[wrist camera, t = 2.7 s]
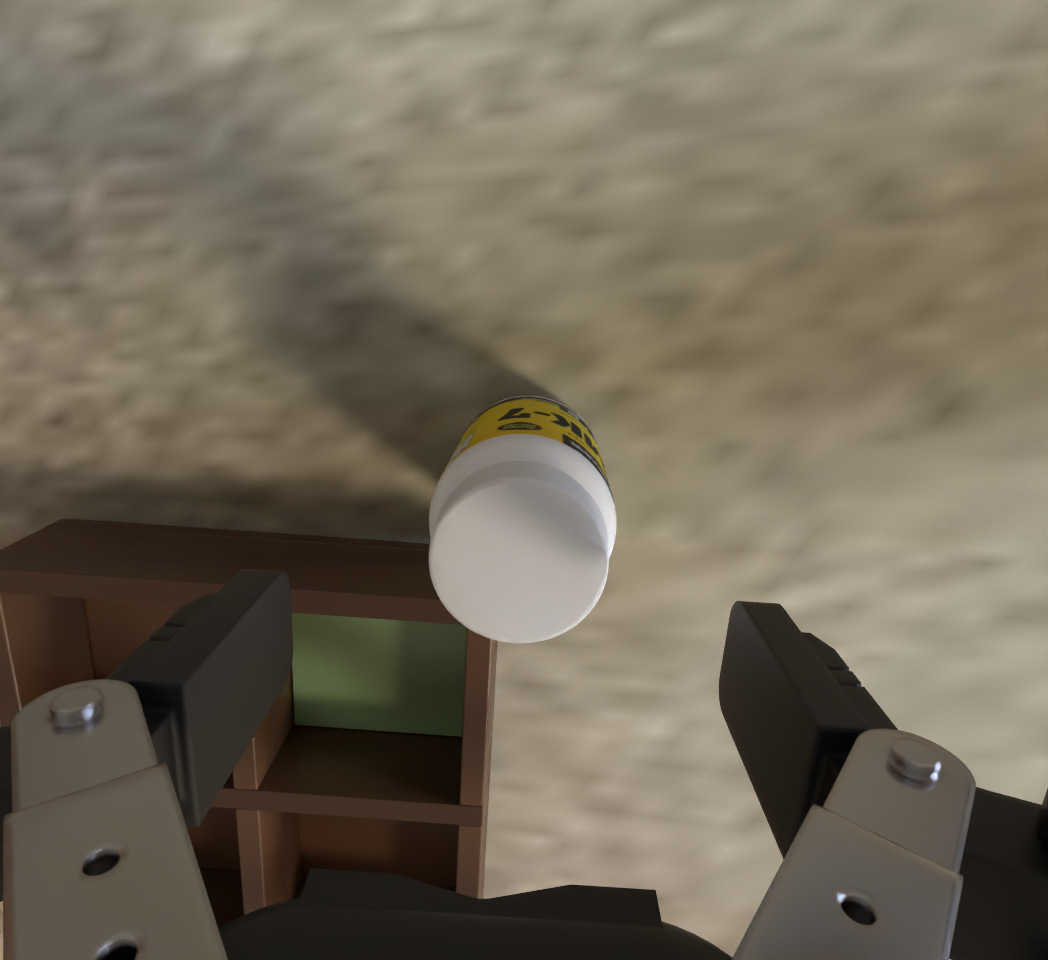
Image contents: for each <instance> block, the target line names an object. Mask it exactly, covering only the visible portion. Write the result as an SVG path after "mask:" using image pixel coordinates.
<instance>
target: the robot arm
mask: <svg viewBox="0 0 1048 960" xmlns="http://www.w3.org/2000/svg"><path fill="white" fill-rule="evenodd" d="M292 659H293V636H292V614H291V592H290V581H289V577H288V575H287V573H286V572H284V571H270V570H254V569H241V570H240V571H239V572H238V573H237V574H236V575H235V576H234V577H233V578H232V579H231V580H230V581H229V582H228V583H227V584H226V585H225V586H224V587H223V588H222V589H221V590H220V591H219V592H218V593H217V594H207V595H205V596H203V597H200V598H198V599H196V600H194V601H192V602H190V603H188V604H186V605H184V606H182V607H181V608H180V609H179V610H178V611H177V612H176V613H174V614H173V615H172V616H171V617H170V618H169V619H168V620H167V621H166V622H165V623H164V627H163V626H161V627H160V628H158V629H157V630H156V631H155V632H154V633H153V634H152V635H151V636H150V639H149V640H146V641H145V642H144V643H142V644H141V645H140V646H139V647H138V648H137V649H136V650H135V651H134V652H133V653H132V654H131V655H130V656H129V657H127V658H126V659H125V660H124V661H123V662H122V663H121V664H120V665H119V666H118V667H117V668H116V669H115V670H114V671H113V672H111V673H110V674H109V675H108V676H107V677H106V678H105V679H97V680H88V681H81V682H77V683H72V684H69V685H65V686H62V687H59V688H57V689H54V690H52V691H49V692H47V693H45V694H43V695H41V696H39V697H37V698H36V699H34V700H32V701H31V702H30V703H28V704H27V705H25V706H24V707H23V708H22V709H21V710H20V711H19V712H18V713H17V715H16V716H15V717H14V719H13V721H12V724H11V726H6V727H0V902H1V901H3V960H949V959H952V960H1048V789H1047V792H1046V795H1045V798H1044V800H1043V803H1042V805H1040V804H1036V803H1032V802H1029V801H1025V800H1021V799H1017V798H1014V797H1010V796H1006V795H1002V794H999V793H995V792H991V791H988V790H984V789H981V788H978V787H976V783H975V780H974V777H973V775H972V773H971V772H970V770H969V769H968V768H967V767H966V765H965V764H964V763H963V762H962V761H961V760H960V759H958V758H957V757H956V756H955V755H953V754H952V753H951V752H949V751H948V750H946V749H945V748H943V747H941V746H940V745H938V744H936V743H934V742H932V741H930V740H928V739H925V738H923V737H920V736H918V735H915V734H912V733H908V732H904V731H900V730H898V729H897V728H896V727H895V725H894V724H893V723H892V722H891V720H890V719H889V718H888V717H887V715H886V714H885V713H884V711H883V710H882V709H881V708H880V706H879V705H878V704H877V703H876V701H875V700H874V699H873V698H872V696H871V695H870V694H869V693H868V691H867V690H866V689H865V687H861V682H860V681H859V680H858V679H857V677H856V676H855V675H854V674H853V672H852V671H849V667H848V666H847V665H846V663H845V662H844V661H843V660H842V658H841V657H840V656H839V655H838V653H837V652H836V651H835V650H834V649H833V648H832V647H830V646H829V645H827V644H826V643H824V642H823V641H821V640H820V639H818V638H817V637H815V636H814V635H812V634H811V633H804V632H801V631H800V630H799V629H798V627H797V626H796V624H795V623H794V622H793V620H792V619H791V618H790V616H789V615H788V614H787V612H786V611H785V610H784V608H783V607H782V606H781V605H780V604H775V603H760V602H744V601H737V602H735V603H734V605H733V607H732V609H731V613H730V618H729V624H728V630H727V636H726V642H725V648H724V654H723V660H722V666H721V672H720V678H719V700H720V706H721V710H722V714H723V716H724V719H725V721H726V723H727V726H728V728H729V731H730V733H731V735H732V738H733V740H734V742H735V745H736V747H737V750H738V752H739V754H740V757H741V759H742V761H743V764H744V766H745V769H746V771H747V773H748V776H749V778H750V780H751V783H752V785H753V788H754V790H755V792H756V795H757V797H758V799H759V802H760V804H761V807H762V809H763V811H764V814H765V816H766V818H767V821H768V823H769V826H770V828H771V830H772V833H773V835H774V837H775V840H776V842H777V844H778V847H779V849H780V852H781V854H782V856H783V859H784V860H783V862H782V864H781V866H780V868H779V870H778V872H777V873H776V875H775V877H774V879H773V881H772V883H771V885H770V887H769V889H768V891H767V893H766V895H765V897H764V898H763V900H762V902H761V904H760V906H759V908H758V910H757V912H756V914H755V916H754V918H753V920H752V921H751V923H750V925H749V927H748V929H747V931H746V933H745V935H744V937H743V939H742V941H741V943H740V944H739V946H738V948H737V950H736V952H735V954H734V956H733V958H732V957H731V956H729V955H728V954H727V953H725V952H724V951H722V950H721V949H719V948H718V947H716V946H715V945H713V944H711V943H710V942H708V941H706V940H704V939H702V938H701V937H699V936H697V935H695V934H693V933H691V932H688V931H686V930H684V929H681V928H679V927H677V926H674V925H671V924H668V923H665V922H662V921H661V916H660V911H659V906H658V901H657V895H656V890H646V889H631V888H615V887H599V886H583V885H566V886H560V887H555V888H549V889H543V890H537V891H531V892H525V893H520V894H514V895H508V896H502V897H496V898H490V899H478V898H473V897H470V896H466V895H463V894H460V893H457V892H453V891H450V890H447V889H444V888H440V887H437V886H434V885H431V884H427V883H424V882H421V881H418V880H414V879H411V878H408V877H405V876H402V875H398V874H394V873H378V872H363V871H347V870H331V869H315V868H310V871H309V874H308V876H307V879H306V882H305V884H304V887H303V889H302V892H301V895H300V897H299V899H293V900H288V901H284V902H280V903H277V904H273V905H270V906H266V907H263V908H261V909H258V910H255V911H253V912H250V913H248V914H245V915H243V916H241V917H239V918H237V919H235V920H233V921H231V922H229V923H227V924H225V925H223V926H221V927H219V928H218V927H217V923H216V920H215V917H214V914H213V911H212V907H211V904H210V901H209V898H208V895H207V891H206V888H205V885H204V882H203V879H202V875H201V872H200V869H199V866H198V863H197V859H196V856H195V853H194V850H193V847H192V843H191V840H190V837H189V834H188V831H187V827H186V826H190V827H199V825H200V823H201V822H202V820H203V819H204V817H205V815H206V814H207V812H208V810H209V809H210V807H211V805H212V804H213V802H214V801H215V799H216V797H217V796H218V794H219V792H220V791H221V789H222V788H223V786H224V784H225V783H226V781H227V779H228V778H229V776H230V774H231V773H232V771H233V770H234V768H235V766H236V765H237V763H238V761H239V760H240V758H241V757H242V755H243V753H244V752H245V750H246V748H247V747H248V745H249V743H250V742H251V740H252V739H253V737H254V735H255V734H256V732H257V730H258V729H259V727H260V725H261V724H262V722H263V721H264V719H265V717H266V716H267V714H268V712H269V711H270V709H271V708H272V706H273V704H274V703H275V701H276V699H277V698H278V696H279V694H280V693H281V691H282V690H283V688H284V686H285V684H286V682H287V680H288V677H289V674H290V670H291V666H292Z"/></svg>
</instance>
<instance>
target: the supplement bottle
mask: <svg viewBox="0 0 1048 960" xmlns="http://www.w3.org/2000/svg"><path fill="white" fill-rule="evenodd" d="M616 524H617V519H616V509H615V504H614V500H613V495H612V492H611V490H610V486H609V483H608V479H607V475H606V471H605V469H604V465H603V461H602V458H601V454H600V451H599V447H598V445H597V442H596V440H595V437H594V435H593V433H592V432H591V430H590V428H589V427H588V425H587V424H586V423H585V421H584V420H583V419H582V418H581V417H580V416H579V415H578V414H577V413H576V412H574V411H573V410H572V409H570V408H569V407H567V406H566V405H564V404H562V403H560V402H557V401H555V400H552V399H548V398H545V397H540V396H526V395H525V396H515V397H510V398H507V399H504V400H501V401H499V402H497V403H495V404H493V405H491V406H489V407H488V408H487V409H485V410H484V411H482V412H481V413H480V414H479V415H478V416H477V417H476V418H475V419H474V420H473V421H472V423H471V424H470V425H469V427H468V428H467V430H466V431H465V433H464V435H463V437H462V439H461V441H460V443H459V444H458V446H457V448H456V450H455V452H454V453H453V455H452V457H451V459H450V461H449V463H448V465H447V466H446V468H445V470H444V472H443V473H442V475H441V477H440V479H439V481H438V483H437V485H436V488H435V490H434V493H433V497H432V501H431V506H430V512H429V530H430V537H431V541H430V546H429V570H430V576H431V580H432V583H433V586H434V588H435V591H436V593H437V595H438V597H439V598H440V600H441V602H442V603H443V605H444V606H445V607H446V609H447V610H448V611H449V612H450V613H451V615H452V616H453V617H455V618H456V619H457V620H458V621H459V622H460V623H462V624H463V625H464V626H465V627H467V628H468V629H470V630H472V631H473V632H475V633H478V634H480V635H482V636H485V637H487V638H490V639H493V640H497V641H501V642H507V643H532V642H538V641H542V640H547V639H550V638H553V637H556V636H558V635H560V634H563V633H564V632H566V631H568V630H570V629H571V628H573V627H574V626H576V625H577V624H578V623H579V622H581V621H582V620H583V619H584V618H585V617H586V616H587V615H588V614H589V612H590V611H591V610H592V609H593V607H594V606H595V605H596V603H597V601H598V600H599V598H600V596H601V594H602V592H603V589H604V587H605V583H606V580H607V575H608V566H609V558H610V555H611V553H612V549H613V546H614V542H615V537H616Z"/></svg>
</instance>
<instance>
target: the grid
mask: <svg viewBox="0 0 1048 960" xmlns="http://www.w3.org/2000/svg"><path fill="white" fill-rule="evenodd" d="M429 546H430V544H422V543H408V542H393V541H379V540H364V539H350V538H335V537H321V536H306V535H292V534H277V533H263V532H248V531H234V530H219V529H205V528H190V527H176V526H161V525H147V524H132V523H118V522H103V521H89V520H74V519H61V520H59V521H57V522H55V523H53V524H52V525H49V526H47V527H45V528H43V529H41V530H39V531H37V532H35V533H33V534H31V535H29V536H27V537H25V538H23V539H21V540H19V541H17V542H15V543H14V544H12V545H10V546H8V547H6V548H4V549H2V550H0V725H1V727H6V726H11V724H12V721H13V719H14V717H15V716H16V715H17V713H18V712H19V711H20V710H21V709H22V708H23V707H24V706H25V705H27V704H28V703H30V702H31V701H32V700H34V699H36V698H37V697H39V696H41V695H43V694H45V693H47V692H49V691H52V690H54V689H57V688H59V687H62V686H65V685H69V684H72V683H77V682H81V681H88V680H97V679H105V678H106V677H107V676H108V675H109V674H110V673H111V672H113V671H114V670H115V669H116V668H117V667H118V666H119V665H120V664H121V663H122V662H123V661H124V660H125V659H126V658H127V657H129V656H130V655H131V654H132V653H133V652H134V651H135V650H136V649H137V648H138V647H139V646H140V645H141V644H142V643H144V642H145V641H146V640H149V639H150V636H151V635H152V634H153V633H154V632H155V631H156V630H157V629H158V628H160V627H161V626H163V627H164V623H165V622H166V621H167V620H168V619H169V618H170V617H171V616H172V615H173V614H174V613H176V612H177V611H178V610H179V609H180V608H181V607H182V606H184V605H186V604H188V603H190V602H192V601H194V600H196V599H198V598H200V597H203V596H205V595H207V594H217V593H218V592H219V591H220V590H221V589H222V588H223V587H224V586H225V585H226V584H227V583H228V582H229V581H230V580H231V579H232V578H233V577H234V576H235V575H236V574H237V573H238V572H239V571H240V570H241V569H254V570H270V571H284V572H286V573H287V575H288V577H289V581H290V592H291V614H292V636H293V659H292V666H291V670H290V674H289V677H288V680H287V682H286V684H285V686H284V688H283V690H282V691H281V693H280V694H279V696H278V698H277V699H276V701H275V703H274V704H273V706H272V708H271V709H270V711H269V712H268V714H267V716H266V717H265V719H264V721H263V722H262V724H261V725H260V727H259V729H258V730H257V732H256V734H255V735H254V737H253V739H252V740H251V742H250V743H249V745H248V747H247V748H246V750H245V752H244V753H243V755H242V757H241V758H240V760H239V761H238V763H237V765H236V766H235V768H234V770H233V771H232V773H231V774H230V776H229V778H228V779H227V781H226V783H225V784H224V786H223V788H222V789H221V791H220V792H219V794H218V796H217V797H216V799H215V801H214V802H213V804H212V805H211V807H210V809H209V810H208V812H207V814H206V815H205V817H204V819H203V820H202V822H201V823H200V825H199V827H190V826H186V827H187V831H188V834H189V837H190V840H191V843H192V847H193V850H194V853H195V856H196V859H197V863H198V866H199V869H200V872H201V875H202V879H203V882H204V885H205V888H206V891H207V895H208V898H209V901H210V904H211V907H212V911H213V914H214V917H215V920H216V923H217V927H218V928H219V927H221V926H223V925H225V924H227V923H229V922H231V921H233V920H235V919H237V918H239V917H241V916H243V915H245V914H248V913H250V912H253V911H255V910H258V909H261V908H263V907H266V906H270V905H273V904H277V903H280V902H284V901H288V900H293V899H299V897H300V895H301V892H302V889H303V887H304V884H305V882H306V879H307V876H308V874H309V871H310V868H315V869H331V870H347V871H363V872H378V873H394V874H398V875H402V876H405V877H408V878H411V879H414V880H418V881H421V882H424V883H427V884H431V885H434V886H437V887H440V888H444V889H447V890H450V891H453V892H457V893H460V894H463V895H466V896H470V897H473V898H478V899H483V887H484V869H485V852H486V834H487V817H488V799H489V782H490V764H491V746H492V729H493V711H494V694H495V676H496V659H497V640H493V639H490V638H487V637H485V636H482V635H480V634H478V633H475V632H473V631H472V630H470V629H468V628H467V627H465V626H464V625H463V624H462V623H460V622H459V621H458V620H457V619H456V618H455V617H453V616H452V615H451V613H450V612H449V611H448V610H447V609H446V607H445V606H444V605H443V603H442V602H441V600H440V598H439V597H438V595H437V593H436V591H435V588H434V586H433V583H432V580H431V576H430V570H429Z"/></svg>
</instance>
